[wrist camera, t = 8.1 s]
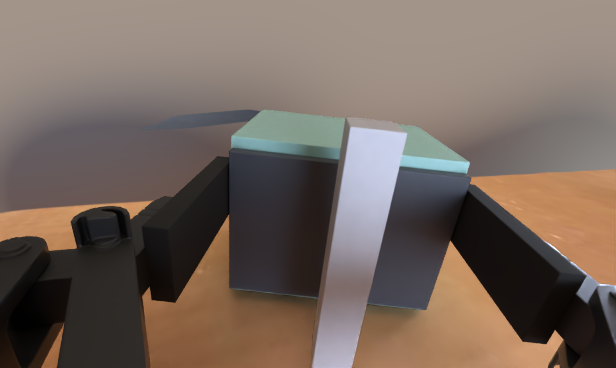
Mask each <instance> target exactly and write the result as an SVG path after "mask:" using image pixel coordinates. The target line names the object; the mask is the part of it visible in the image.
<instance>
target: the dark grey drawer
mask: <svg viewBox="0 0 616 368" xmlns="http://www.w3.org/2000/svg"><path fill="white" fill-rule="evenodd" d="M406 138H407V133H406V132H405V131H404V130H403V129H402V128H401V127H399V126H398V125H397V124H396V123H395V122H391V121H381V120H372V119H364V118H354V117H346V118H345V124H344V130H343V137H342V144H341V150H340V157H339V160H338V159H329V158H320V157H311V156H302V155H293V154H284V153H275V152H266V151H257V150H248V149H239V148H232V149H231V150H230V151H229V288H233V289H242V290H251V291H260V292H269V293H277V294H286V295H295V296H304V297H313V298H318V303H317V310H316V316H315V323H314V329H313V336H312V361H311V368H352V365H353V360H354V356H355V352H356V348H357V344H358V339H359V335H360V331H361V327H362V323H363V318H364V314H365V310H366V306H367V304H376V305H385V306H394V307H403V308H412V309H421V310H426V309H427V306H428V303H429V300H430V297H431V294H432V292H433V289H434V286H435V283H436V280H437V277H438V274H439V271H440V268H441V265H442V263H443V260H444V257H445V254H446V251H447V248H448V245H449V242H450V239H451V237H452V234H453V231H454V228H455V225H456V222H457V219H458V216H459V213H460V210H461V208H462V205H463V202H464V199H465V196H466V193H467V190H468V187H469V184H470V182H471V177H469V176H468V175H467V174H464V173H455V172H446V171H437V170H428V169H419V168H410V167H401V166H400V163H401V159H402V154H403V150H404V146H405V142H406Z"/></svg>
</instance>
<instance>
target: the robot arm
mask: <svg viewBox="0 0 616 368" xmlns="http://www.w3.org/2000/svg"><path fill="white" fill-rule="evenodd" d="M228 215H229V157H219V156H217V157H216V158H215V159H214V160H213V161H212V162H211V163H210V164H209V165H208V166H207V167H205V169H203V170H202V171H201V172H200V173H199V174H198V175H197V176H196V177H195V178H193V179H192V181H190V182H189V183H188V184H187V185H186V186H185V187H184V188H183V189H181V191H179V192H178V193H177V194H176V195H175V196H174V197H166V196H164V197H162V198H160V199H157V200H155V201H153V202H151V203H150V204H149V205H148V206H147V207H145V209H143V210H142V211H141V212H139V213H138V215H136V216H135V217H133V218H132V219H131V220H130V216H129V212H128V211H127V209H124V208H122V207H116V206H105V207H98V208H93V209H89V210H87V211H84V212H81V213H80V214H78V215H76V216H75V217H74V218H73V219H72V221H71V225H72V229H73V233H74V237H75V241H76V245H77V249H68V250H55V251H49V250H48V246H47V243H46V241H45V240H44V239H43V238H40V237H32V236H26V237H16V238H11V239H10V240H8V239H7V240H4V241H1V242H0V368H41V366H42V364H43V362H44V360H45V358H46V356H47V355H48V353H49V351H50V349H51V347H52V345H53V343H54V341H55V339H56V337H57V336H58V334H59V332H60V330H61V328H62V326H63V324H64V329H63V335H62V341H61V347H60V353H59V359H58V365H57V368H150V359H149V350H148V342H147V333H146V324H145V316H144V307H143V300H142V296H143V294H144V293H145V292H146V290H147V289H148V288H149V286H150V291H151V299H152V300H156V301H165V302H174V303H176V301H177V299H178V298H179V296H180V294H181V293H182V291H183V289H184V288H185V286H186V284H187V283H188V281H189V279H190V278H191V276H192V274H193V273H194V271H195V269H196V268H197V266H198V265H199V263H200V261H201V260H202V258H203V256H204V255H205V253H206V251H207V250H208V248H209V246H210V245H211V243H212V241H213V240H214V238H215V236H216V235H217V233H218V231H219V230H220V228H221V226H222V225H223V223H224V222H225V220H226V218H227V217H228ZM450 240H451V242H452V243H453V245H454V246H455V247H456V249H457V250H458V252H459V253H460V254H461V256H462V257H463V259H464V260H465V261H466V263H467V264H468V266H469V267H470V268H471V270H472V271H473V273H474V274H475V275H476V277H477V278H478V280H479V281H480V282H481V284H482V285H483V287H484V288H485V290H486V291H487V292H488V294H489V295H490V297H491V298H492V299H493V301H494V302H495V304H496V305H497V306H498V308H499V309H500V311H501V312H502V313H503V315H504V316H505V318H506V319H507V320H508V322H509V323H510V325H511V326H512V327H513V329H514V330H515V332H516V333H517V334H518V336H519V337H520V339H521V340H522V341H523V342H531V343H540V344H547V342H548V341H549V339H550V337H551V336H552V334H553V332H554V331H555V330H556V331H557V332H558V334H559V335H560V336H561V337H562V338H563V339H564V340H563V342H562V343H561V345H560V347H559V348H558V350H557V351H556V353H555V355H554V356H553V358H552V359H551V361H550V363H549V365H548V368H554V366H555V365H559V364H560V368H616V286H613V285H608V284H601V285H600V284H599V283H598V282H596V281H595V280H594V279H593V278H591V277H590V276H589V275H588V274H586V273H585V272H584V271H583V270H581V269H580V268H579V267H578V266H576V265H575V264H574V263H571V261H570V260H569V259H568V258H567V257H565V256H564V255H562V253H560V252H559V251H558V250H557V249H555V248H554V247H553V246H552V245H550V244H548V243H547V242H545V241H543V240H542V239H541V238H540V237H538V236H537V235H536V234H535V233H533V232H532V231H531V230H530V229H529V228H527V227H526V226H525V225H524V224H522V223H521V222H520V221H519V220H517V219H516V218H515V217H514V216H513V215H511V214H510V213H509V212H508V211H506V210H505V209H504V208H503V207H501V206H500V205H499V204H498V203H497V202H495V201H494V200H493V199H492V198H490V197H489V196H488V195H487V194H485V193H484V192H483V191H482V190H481V189H479V188H478V187H477V186H476V185H471V184H469V187H468V190H467V193H466V196H465V199H464V202H463V205H462V208H461V210H460V213H459V216H458V219H457V222H456V225H455V228H454V231H453V234H452V237H451V239H450ZM64 322H65V323H64Z"/></svg>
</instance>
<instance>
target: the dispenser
mask: <svg viewBox="0 0 616 368" xmlns="http://www.w3.org/2000/svg"><path fill="white" fill-rule="evenodd" d="M344 124H345V118H344V119H343V118H335V117H326V116H318V115H309V114H300V113H291V112H281V111H272V110H262V111H261V112H260V113H259V114H257V115H256V116H255V117H254V118H253V119H251V120H250V121H249V122H248V123H247V124H246V125H244V126H243V127H242V128H241V129H239V130H238V131H237V132H236V133H235V134H233V136H231V149H232V148H239V149H248V150H257V151H266V152H275V153H284V154H293V155H302V156H311V157H320V158H329V159H338V160H339V157H340V150H341V144H342V137H343V130H344ZM397 125H398V124H397ZM398 126H399V127H401V128H402V129H403V130H404V131H405V132H406V133H407V138H406V142H405V146H404V150H403V154H402V159H401V163H400V166H401V167H410V168H419V169H428V170H437V171H446V172H455V173H464V174H466V173H467V170H468V167H469V164H470V163H469V162H468V161H467V160H465V159H464V158H462V157H461V156H459V155H458V154H457V153H455V152H453V151H452V150H451V149H449V148H448V147H446V146H445V145H443V144H442V143H440V142H439V141H438V140H436V139H435V138H433V137H432V136H430V135H429V134H427V133H426V132H425V131H423V130H422V129H420V128H419V127H416V126H408V125H398ZM231 289H233V288H231ZM238 290H242V289H238ZM247 291H251V290H247ZM256 292H260V291H256ZM265 293H269V292H265ZM274 294H277V293H274ZM283 295H286V294H283ZM292 296H295V295H292ZM301 297H304V296H301ZM310 298H313V297H310ZM373 305H376V304H373ZM382 306H385V305H382ZM391 307H394V306H391ZM400 308H403V307H400ZM409 309H412V308H409ZM418 310H421V309H418Z"/></svg>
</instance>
